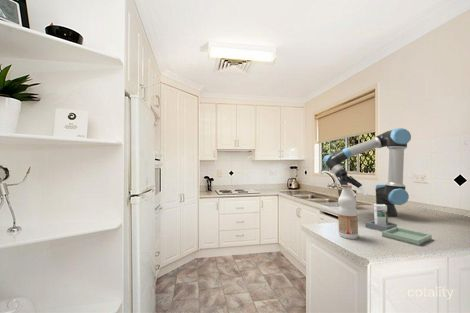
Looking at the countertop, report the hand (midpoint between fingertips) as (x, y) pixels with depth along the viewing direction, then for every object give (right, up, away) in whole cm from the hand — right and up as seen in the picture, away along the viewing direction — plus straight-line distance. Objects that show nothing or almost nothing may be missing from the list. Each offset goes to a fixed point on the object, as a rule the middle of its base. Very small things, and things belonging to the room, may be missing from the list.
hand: (360, 195), depth 143 cm
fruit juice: (-21, -18, -25) cm, 37 cm away
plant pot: (+17, -21, +50) cm, 56 cm away
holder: (+6, -18, -10) cm, 22 cm away
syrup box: (+6, -18, -10) cm, 22 cm away
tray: (+8, -17, -28) cm, 34 cm away
